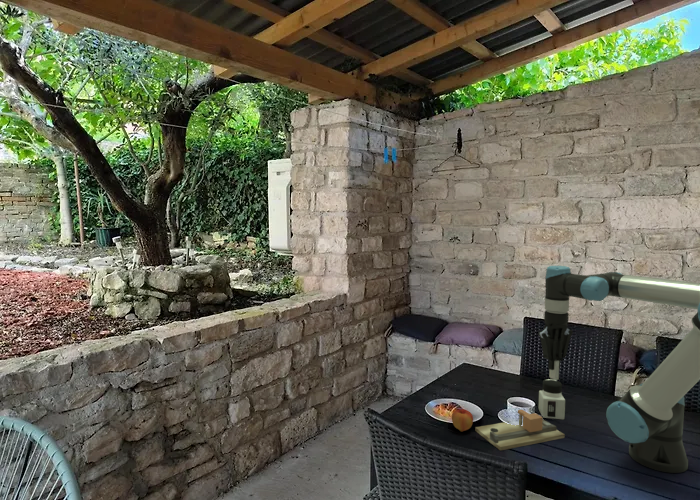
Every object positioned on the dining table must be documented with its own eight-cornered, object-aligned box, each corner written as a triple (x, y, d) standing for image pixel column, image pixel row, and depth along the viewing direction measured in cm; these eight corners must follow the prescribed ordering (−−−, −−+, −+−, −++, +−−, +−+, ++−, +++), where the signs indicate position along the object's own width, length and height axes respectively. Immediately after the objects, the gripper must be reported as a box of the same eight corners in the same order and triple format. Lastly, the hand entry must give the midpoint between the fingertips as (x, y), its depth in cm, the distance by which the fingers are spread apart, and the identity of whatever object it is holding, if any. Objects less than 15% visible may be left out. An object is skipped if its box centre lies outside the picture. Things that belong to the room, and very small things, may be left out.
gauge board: (564, 437, 153) (564, 427, 153) (500, 450, 145) (500, 439, 144) (535, 420, 166) (535, 410, 166) (475, 430, 158) (475, 420, 158)
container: (564, 419, 166) (566, 385, 165) (542, 417, 168) (543, 384, 167) (559, 410, 174) (560, 378, 173) (538, 409, 175) (539, 376, 174)
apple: (460, 436, 154) (461, 414, 153) (447, 427, 160) (447, 406, 160) (477, 432, 157) (477, 410, 156) (463, 423, 164) (464, 402, 163)
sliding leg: (542, 433, 152) (542, 417, 152) (530, 435, 151) (530, 419, 150) (525, 422, 160) (525, 407, 160) (513, 424, 159) (514, 409, 158)
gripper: (563, 307, 158) (560, 372, 160) (533, 310, 154) (530, 376, 156) (580, 312, 151) (577, 379, 153) (549, 314, 147) (546, 384, 149)
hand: (553, 378), depth 155 cm, fingers closed
